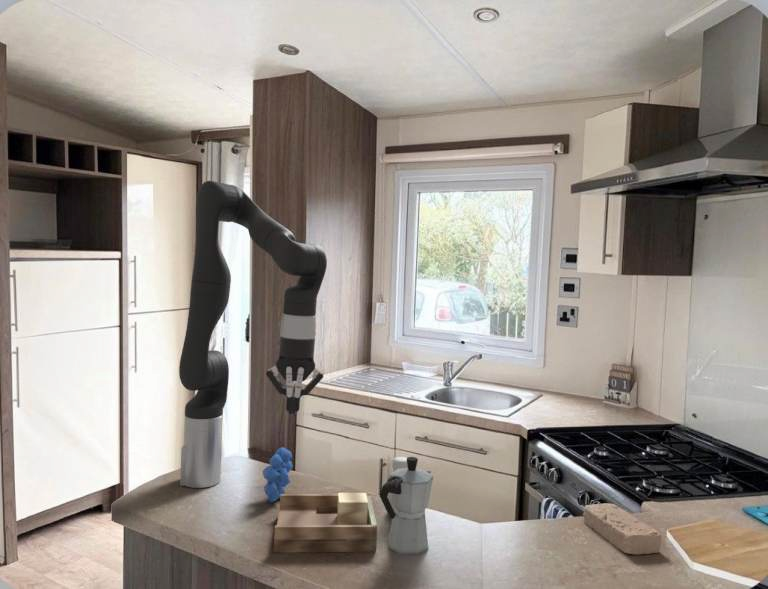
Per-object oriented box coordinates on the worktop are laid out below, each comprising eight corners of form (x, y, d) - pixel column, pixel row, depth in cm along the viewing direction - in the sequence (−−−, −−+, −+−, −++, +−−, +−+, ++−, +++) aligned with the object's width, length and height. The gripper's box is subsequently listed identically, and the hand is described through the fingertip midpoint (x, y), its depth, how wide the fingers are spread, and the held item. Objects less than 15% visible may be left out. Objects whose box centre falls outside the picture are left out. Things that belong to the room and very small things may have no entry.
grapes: (272, 487, 140) (274, 440, 140) (297, 491, 139) (299, 443, 138) (249, 505, 129) (251, 454, 129) (276, 509, 127) (278, 458, 127)
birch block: (337, 526, 115) (338, 502, 115) (337, 515, 120) (338, 492, 120) (366, 526, 116) (367, 502, 116) (364, 515, 121) (366, 492, 121)
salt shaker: (381, 515, 127) (384, 459, 127) (393, 506, 132) (395, 452, 132) (404, 521, 124) (407, 464, 124) (415, 512, 130) (418, 457, 129)
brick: (580, 522, 130) (581, 502, 129) (612, 519, 131) (613, 500, 131) (627, 558, 113) (628, 536, 113) (662, 555, 115) (664, 533, 115)
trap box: (273, 552, 108) (274, 527, 108) (279, 516, 124) (280, 494, 124) (376, 551, 111) (377, 526, 110) (368, 515, 127) (370, 494, 126)
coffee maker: (413, 527, 122) (417, 446, 121) (444, 543, 115) (449, 457, 115) (362, 549, 111) (366, 460, 110) (394, 567, 105) (398, 473, 104)
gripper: (328, 334, 126) (322, 410, 127) (269, 330, 124) (263, 407, 125) (328, 339, 118) (322, 419, 119) (265, 335, 117) (259, 416, 118)
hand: (292, 413), depth 122 cm, fingers closed
